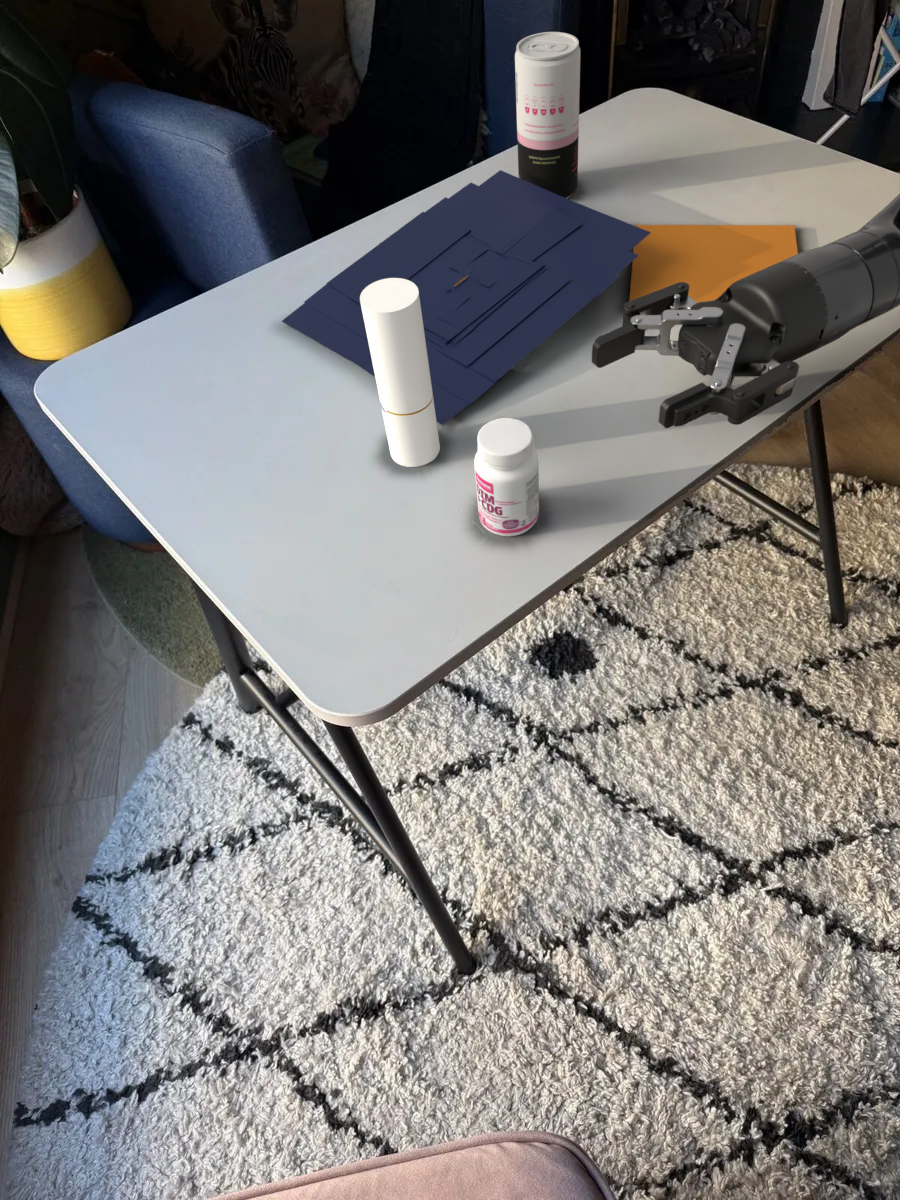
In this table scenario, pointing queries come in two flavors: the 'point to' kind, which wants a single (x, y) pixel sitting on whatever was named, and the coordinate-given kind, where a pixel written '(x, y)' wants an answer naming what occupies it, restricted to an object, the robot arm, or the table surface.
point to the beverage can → (548, 110)
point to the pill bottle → (507, 477)
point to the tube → (401, 369)
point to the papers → (479, 282)
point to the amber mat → (706, 256)
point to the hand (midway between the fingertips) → (627, 385)
